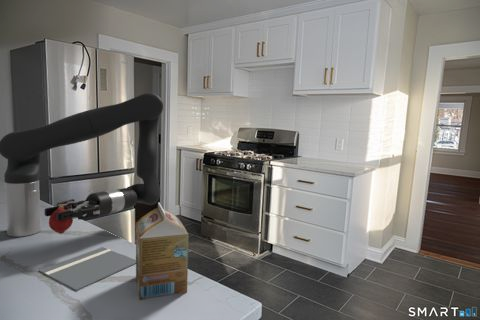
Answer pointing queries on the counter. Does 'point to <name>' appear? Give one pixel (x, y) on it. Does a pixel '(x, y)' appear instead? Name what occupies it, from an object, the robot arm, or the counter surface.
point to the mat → (88, 268)
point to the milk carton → (161, 255)
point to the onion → (59, 222)
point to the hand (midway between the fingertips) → (51, 214)
